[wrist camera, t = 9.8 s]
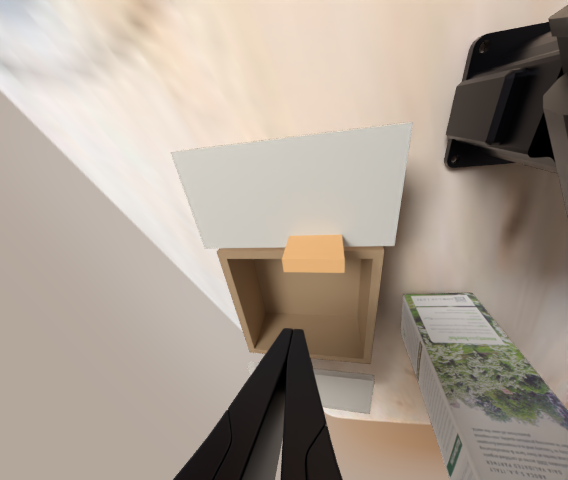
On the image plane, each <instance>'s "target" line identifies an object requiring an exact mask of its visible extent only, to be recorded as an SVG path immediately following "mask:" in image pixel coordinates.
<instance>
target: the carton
mask: <svg viewBox="0 0 568 480" xmlns="http://www.w3.org/2000/svg"><path fill="white" fill-rule="evenodd" d="M285 248H286V247H279V248H219V250H218V251H217V254H218V257H219V260H220V263H221V266H222V270H223V273H224V276H225V279H226V282H227V285H228V288H229V291H230V294H231V297H232V300H233V303H234V306H235V309H236V312H237V315H238V318H239V321H240V324H241V327H242V330H243V333H244V336H245V339H246V342H247V345H248V348H249V351H250V352H253V353H262V354H266V353H267V351H268V350H269V348H270V347H271V345H272V344H273V342H274V341H275V340H276V338H277V337H278V335H279V334H280V332H281V331H282V330H283V329H284V328H292V329H293V330H294V329H303V330H304V334H305V338H306V342H307V346H308V350H309V354H310V358H314V359H325V360H335V361H345V362H356V363H366V364H370V363H371V355H372V347H373V339H374V331H375V322H376V314H377V306H378V298H379V290H380V282H381V274H382V266H383V257H384V248H383V246H355V247H343V249H344V257H345V271H344V273H312V272H284V270H283V264H282V257H283V254H284V251H285Z"/></svg>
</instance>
